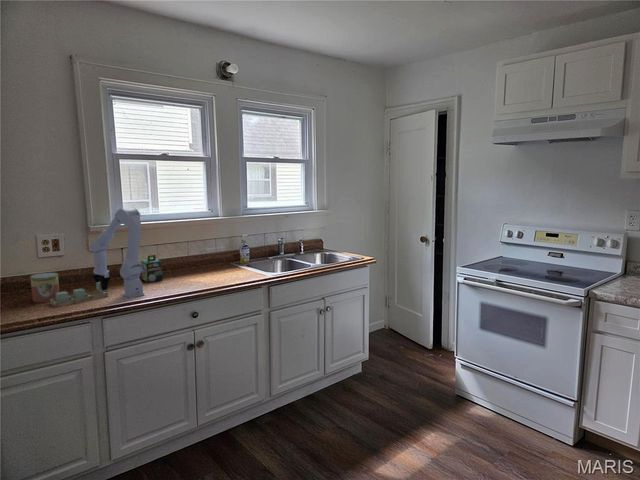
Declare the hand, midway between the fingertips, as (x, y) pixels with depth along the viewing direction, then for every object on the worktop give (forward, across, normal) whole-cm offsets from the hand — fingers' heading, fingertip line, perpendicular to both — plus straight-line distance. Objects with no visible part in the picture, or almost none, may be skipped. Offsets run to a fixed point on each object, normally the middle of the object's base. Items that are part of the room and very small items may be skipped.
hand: (102, 288), depth 216 cm
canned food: (+2, +5, +24) cm, 25 cm away
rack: (+1, -9, +14) cm, 17 cm away
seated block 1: (+1, -9, +21) cm, 23 cm away
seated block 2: (+1, -9, +14) cm, 17 cm away
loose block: (+2, 0, 0) cm, 2 cm away
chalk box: (+2, +5, -30) cm, 30 cm away
